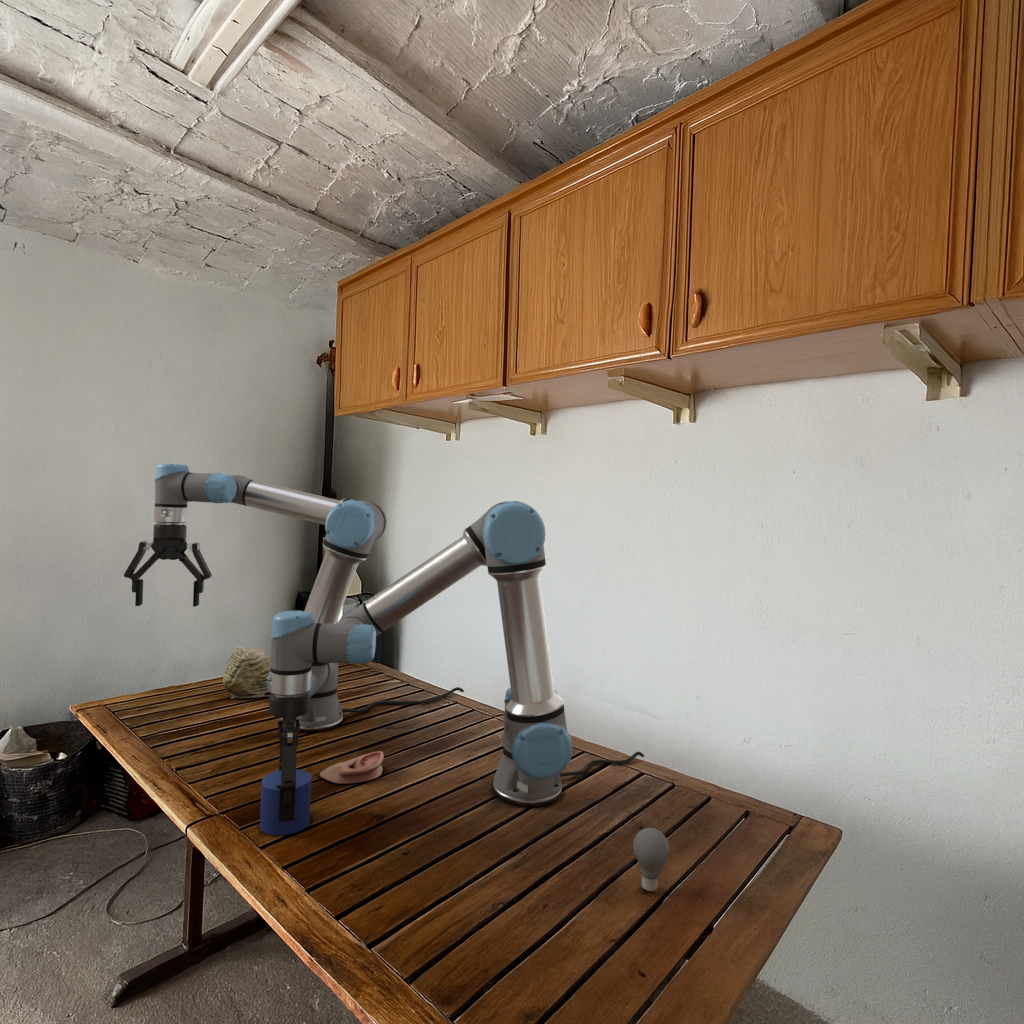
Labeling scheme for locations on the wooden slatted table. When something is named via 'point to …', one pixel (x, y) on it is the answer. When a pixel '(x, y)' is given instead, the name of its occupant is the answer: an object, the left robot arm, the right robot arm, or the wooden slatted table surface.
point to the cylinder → (271, 804)
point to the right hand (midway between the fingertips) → (285, 807)
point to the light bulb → (650, 855)
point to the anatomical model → (355, 769)
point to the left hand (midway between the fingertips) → (167, 605)
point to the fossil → (247, 673)
